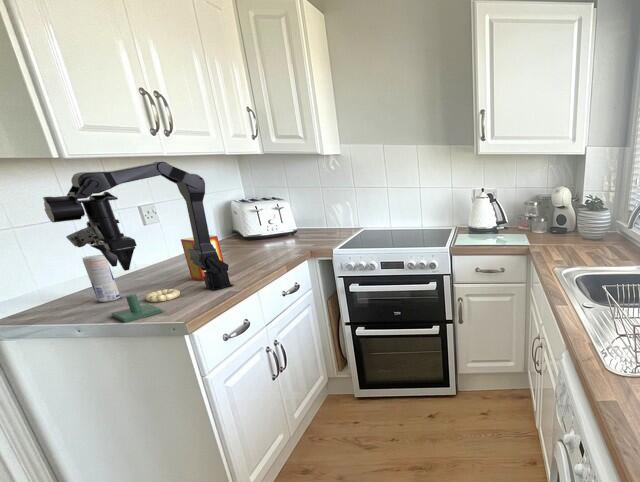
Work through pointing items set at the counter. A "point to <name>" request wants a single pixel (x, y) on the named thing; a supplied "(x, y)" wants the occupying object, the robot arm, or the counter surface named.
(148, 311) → the stand
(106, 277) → the beverage can
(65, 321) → the counter surface
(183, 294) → the counter surface
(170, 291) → the ring
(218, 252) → the baking soda box
